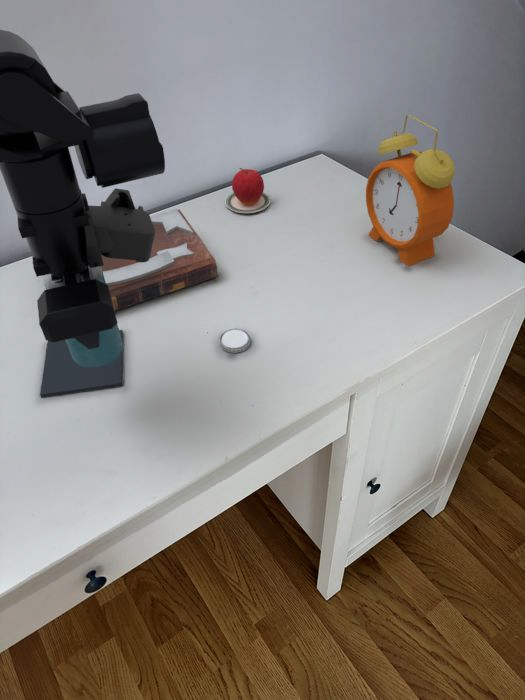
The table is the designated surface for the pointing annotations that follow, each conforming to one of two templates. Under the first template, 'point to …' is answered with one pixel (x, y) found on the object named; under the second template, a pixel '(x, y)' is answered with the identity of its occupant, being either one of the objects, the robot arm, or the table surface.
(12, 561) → the table surface
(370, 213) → the alarm clock
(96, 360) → the can
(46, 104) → the robot arm
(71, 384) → the mat
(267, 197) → the apple
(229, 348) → the bottle cap
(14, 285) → the table surface
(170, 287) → the book
